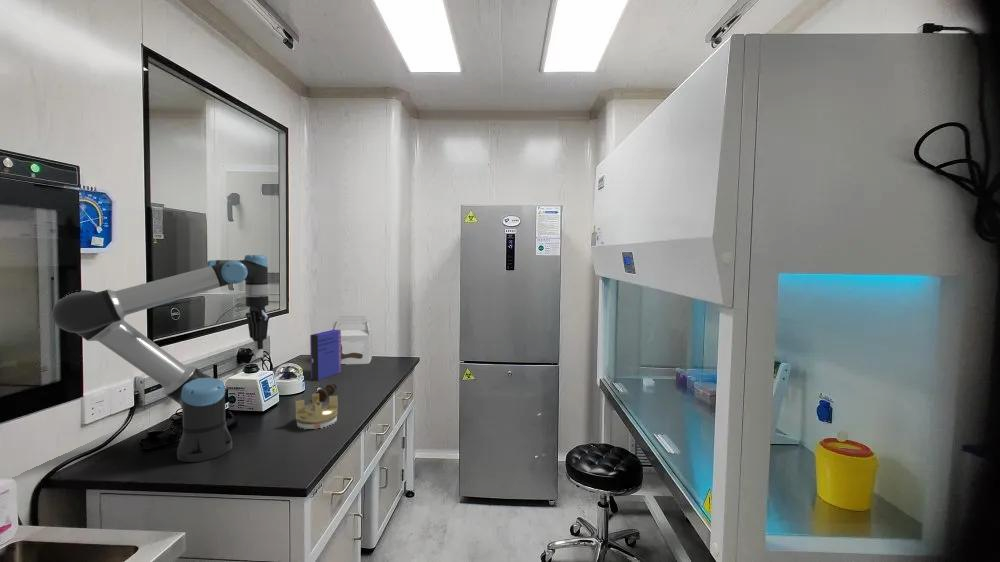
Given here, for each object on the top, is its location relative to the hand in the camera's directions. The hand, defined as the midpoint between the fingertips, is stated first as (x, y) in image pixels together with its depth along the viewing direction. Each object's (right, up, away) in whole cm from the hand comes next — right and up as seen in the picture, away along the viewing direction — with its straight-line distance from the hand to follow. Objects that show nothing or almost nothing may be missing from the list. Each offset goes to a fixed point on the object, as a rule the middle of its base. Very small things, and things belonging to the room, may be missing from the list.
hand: (258, 357), depth 164 cm
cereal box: (-2, -23, +68) cm, 72 cm away
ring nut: (+20, -24, +5) cm, 32 cm away
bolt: (+12, -25, +36) cm, 46 cm away
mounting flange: (+20, -26, +5) cm, 34 cm away
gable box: (+1, -21, +100) cm, 102 cm away
